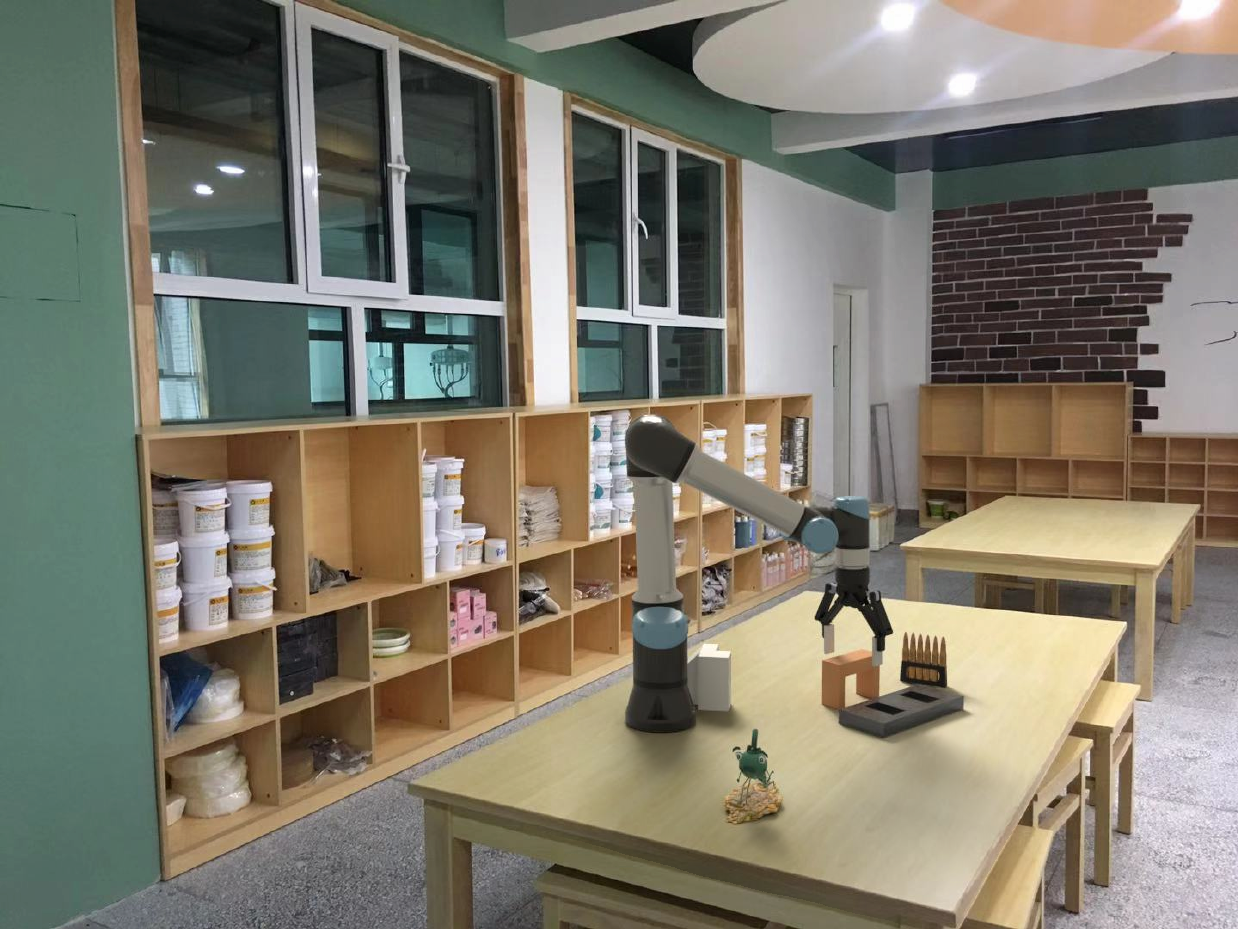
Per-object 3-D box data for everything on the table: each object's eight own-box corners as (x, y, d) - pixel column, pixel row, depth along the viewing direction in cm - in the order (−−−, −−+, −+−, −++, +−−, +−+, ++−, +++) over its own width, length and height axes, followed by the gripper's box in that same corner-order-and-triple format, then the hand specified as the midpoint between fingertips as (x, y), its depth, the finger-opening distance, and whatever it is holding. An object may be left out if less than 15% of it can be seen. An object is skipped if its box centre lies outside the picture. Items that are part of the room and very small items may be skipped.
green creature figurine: (804, 794, 185) (802, 716, 182) (756, 843, 170) (753, 759, 168) (755, 781, 190) (752, 705, 187) (706, 828, 176) (702, 746, 173)
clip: (839, 709, 230) (839, 665, 229) (821, 704, 233) (822, 660, 232) (879, 696, 238) (879, 653, 237) (861, 691, 242) (862, 649, 241)
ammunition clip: (899, 681, 250) (900, 632, 248) (902, 679, 251) (902, 630, 250) (945, 688, 244) (946, 638, 243) (947, 686, 246) (948, 636, 245)
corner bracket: (728, 711, 229) (728, 657, 228) (677, 708, 231) (677, 655, 230) (733, 696, 239) (733, 645, 238) (684, 693, 242) (683, 642, 241)
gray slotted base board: (883, 738, 212) (883, 723, 211) (838, 723, 221) (839, 709, 220) (963, 709, 229) (963, 695, 229) (919, 696, 238) (919, 683, 238)
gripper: (909, 571, 225) (909, 667, 227) (820, 556, 245) (821, 645, 247) (887, 576, 221) (887, 674, 223) (798, 560, 240) (799, 651, 242)
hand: (852, 659), depth 235 cm, fingers open, 13 cm apart
